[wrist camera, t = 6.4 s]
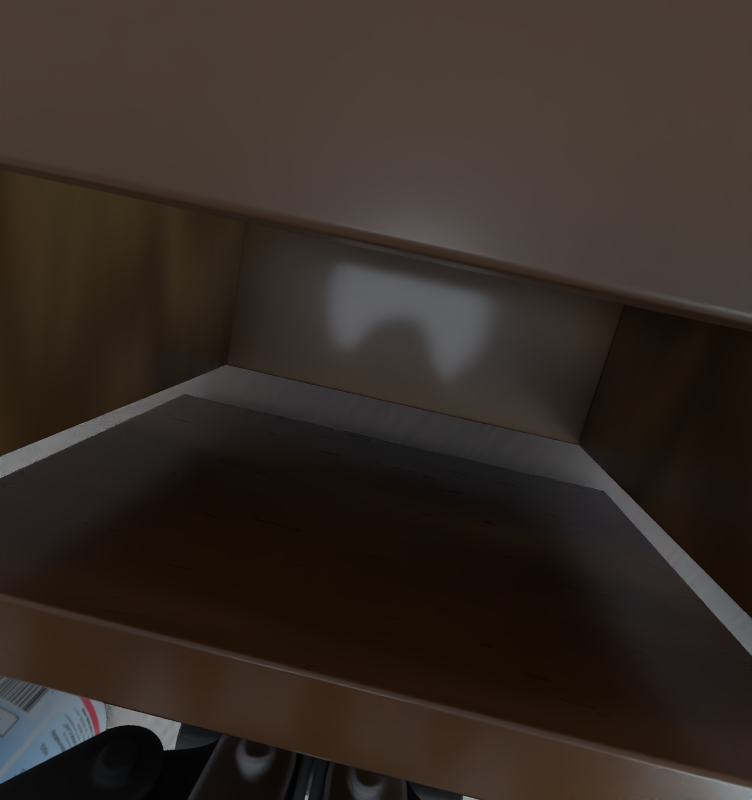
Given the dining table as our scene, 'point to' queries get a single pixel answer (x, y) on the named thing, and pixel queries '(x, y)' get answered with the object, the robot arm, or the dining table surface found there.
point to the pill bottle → (42, 724)
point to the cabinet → (416, 129)
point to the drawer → (370, 509)
